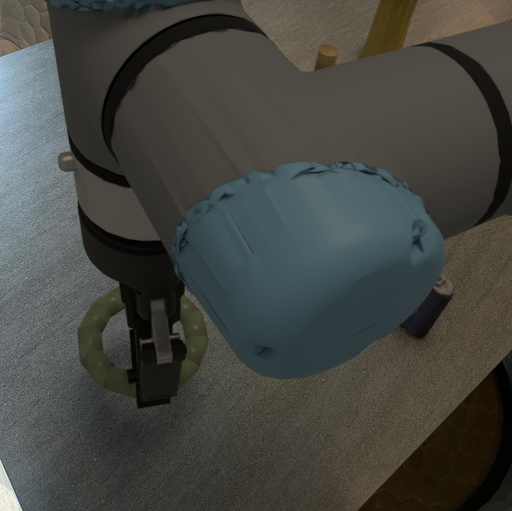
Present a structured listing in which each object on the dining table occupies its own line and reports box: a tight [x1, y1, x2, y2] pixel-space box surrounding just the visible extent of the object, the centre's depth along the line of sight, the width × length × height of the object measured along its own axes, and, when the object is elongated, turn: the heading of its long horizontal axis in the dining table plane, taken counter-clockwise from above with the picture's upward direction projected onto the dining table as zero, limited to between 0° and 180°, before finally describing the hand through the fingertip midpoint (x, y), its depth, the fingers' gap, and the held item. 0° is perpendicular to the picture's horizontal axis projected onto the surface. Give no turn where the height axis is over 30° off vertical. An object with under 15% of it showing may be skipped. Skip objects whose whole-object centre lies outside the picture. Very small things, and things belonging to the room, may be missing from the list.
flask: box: [399, 272, 455, 340], centre depth 68 cm, size 9×3×11 cm, turn 48°
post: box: [313, 43, 339, 71], centre depth 82 cm, size 10×10×14 cm
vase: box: [359, 0, 419, 59], centre depth 95 cm, size 6×6×14 cm
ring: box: [76, 285, 210, 399], centre depth 55 cm, size 11×11×2 cm
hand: (150, 385), depth 53 cm, fingers closed on ring, 2 cm apart
